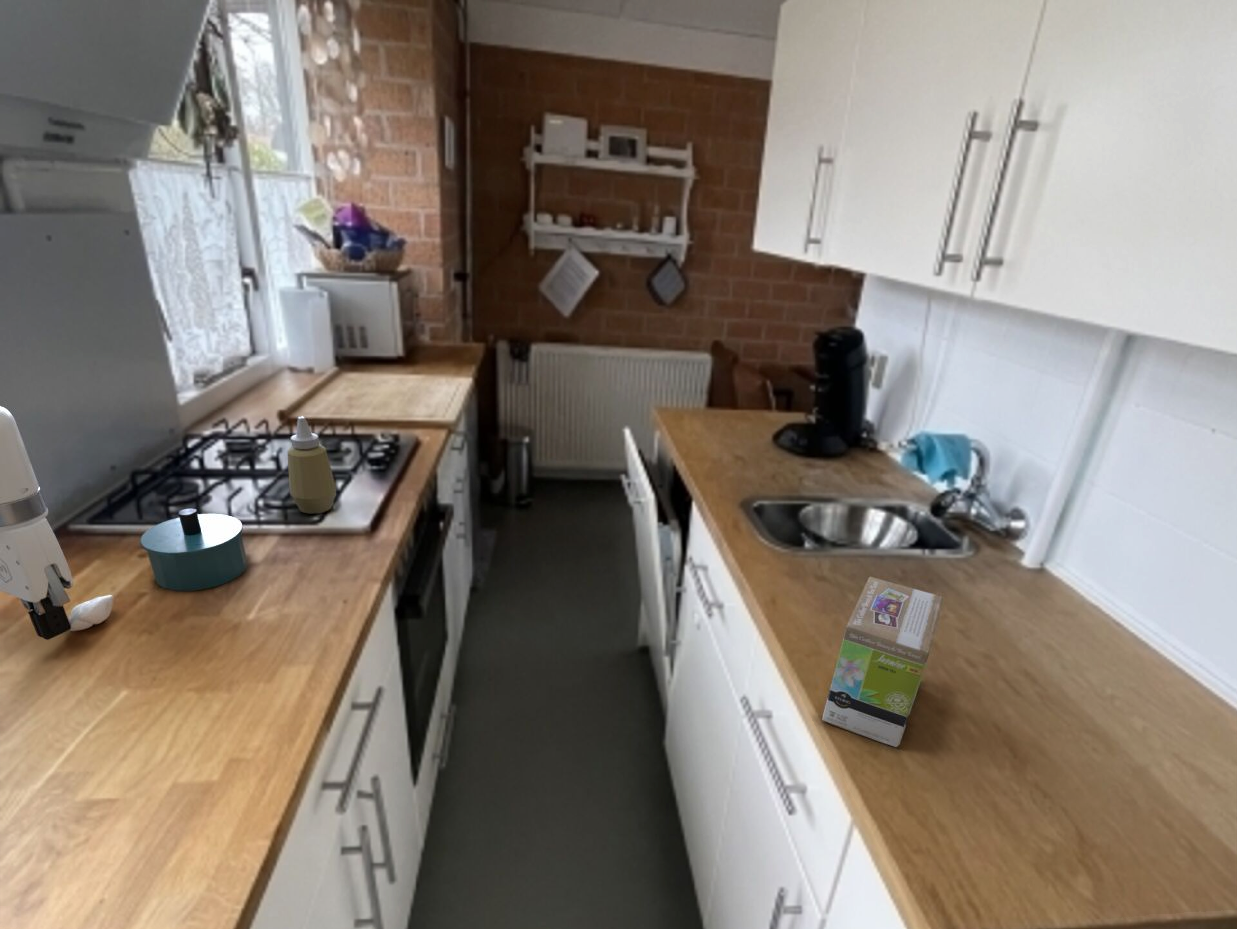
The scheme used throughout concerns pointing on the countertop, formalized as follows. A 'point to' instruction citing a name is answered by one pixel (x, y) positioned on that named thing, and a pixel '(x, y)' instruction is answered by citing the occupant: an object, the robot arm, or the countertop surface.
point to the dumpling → (90, 612)
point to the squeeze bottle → (310, 471)
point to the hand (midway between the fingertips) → (55, 632)
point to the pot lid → (191, 533)
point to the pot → (200, 567)
